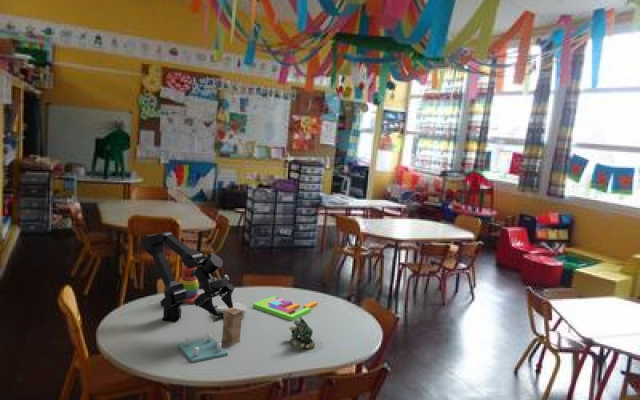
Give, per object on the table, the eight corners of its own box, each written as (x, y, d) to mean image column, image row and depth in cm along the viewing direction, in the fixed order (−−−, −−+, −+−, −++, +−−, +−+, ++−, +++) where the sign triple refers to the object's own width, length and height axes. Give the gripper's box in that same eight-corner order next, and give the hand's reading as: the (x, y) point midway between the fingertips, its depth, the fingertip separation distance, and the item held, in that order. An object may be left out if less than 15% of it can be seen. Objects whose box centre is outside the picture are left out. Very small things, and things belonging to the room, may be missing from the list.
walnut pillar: (221, 341, 201) (224, 310, 199) (230, 337, 205) (232, 307, 203) (231, 345, 199) (234, 314, 197) (239, 341, 203) (242, 310, 201)
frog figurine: (274, 336, 212) (276, 309, 210) (314, 333, 218) (317, 308, 216) (285, 355, 195) (288, 327, 194) (329, 352, 202) (332, 325, 200)
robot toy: (213, 323, 220) (248, 319, 225) (213, 313, 220) (248, 310, 224) (210, 312, 232) (243, 309, 236) (210, 303, 231) (243, 300, 236)
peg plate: (178, 346, 193) (178, 336, 193) (212, 340, 202) (212, 330, 201) (191, 362, 182) (192, 352, 182) (227, 355, 190) (228, 345, 190)
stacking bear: (196, 304, 237) (198, 268, 234) (174, 302, 237) (176, 266, 234) (201, 297, 247) (204, 261, 245) (181, 295, 247) (183, 259, 245)
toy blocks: (291, 322, 229) (321, 308, 250) (291, 317, 229) (321, 303, 250) (252, 308, 241) (284, 296, 262) (253, 303, 240) (284, 291, 261)
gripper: (201, 274, 194) (221, 309, 191) (232, 265, 210) (251, 296, 207) (185, 289, 199) (204, 323, 196) (217, 278, 215) (235, 310, 212)
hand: (225, 312), depth 202 cm, fingers open, 9 cm apart
